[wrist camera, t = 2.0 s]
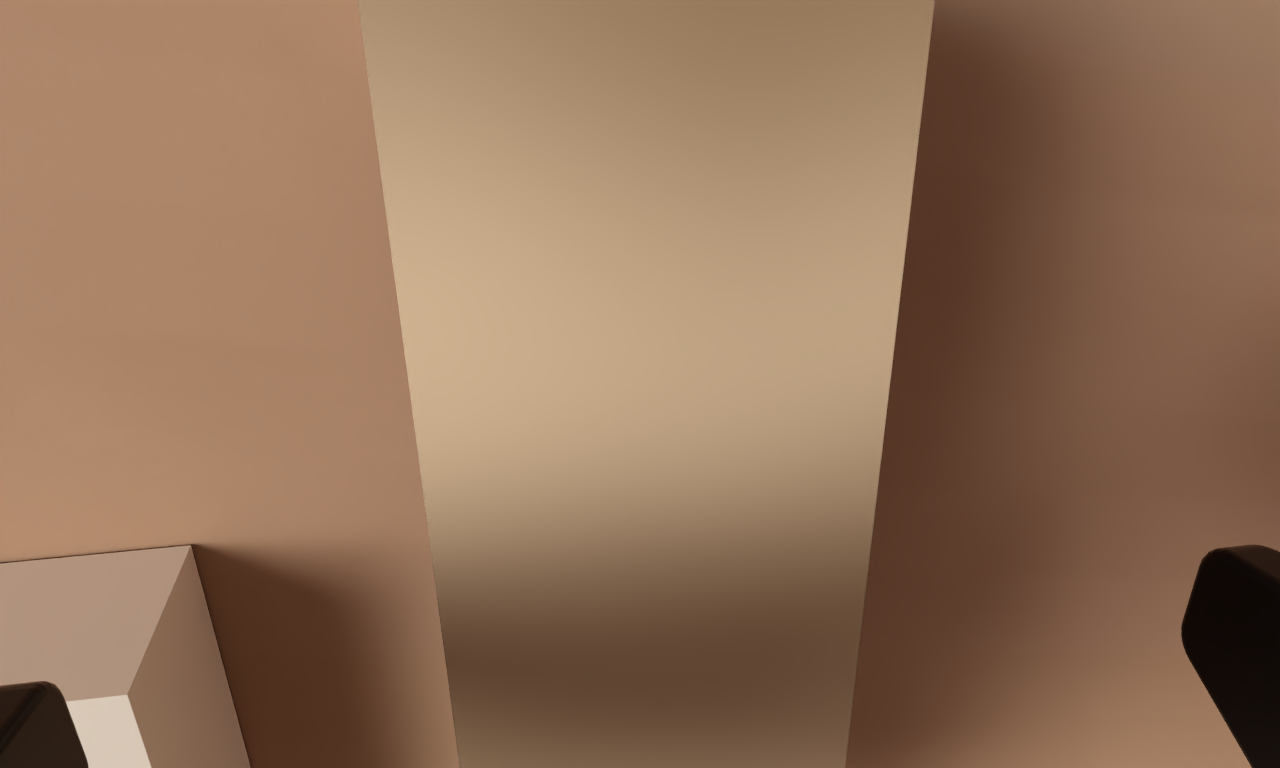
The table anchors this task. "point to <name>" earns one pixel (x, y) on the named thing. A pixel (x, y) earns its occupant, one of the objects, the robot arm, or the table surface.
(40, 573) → the white slotted block
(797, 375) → the tan elongated block
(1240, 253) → the table surface
